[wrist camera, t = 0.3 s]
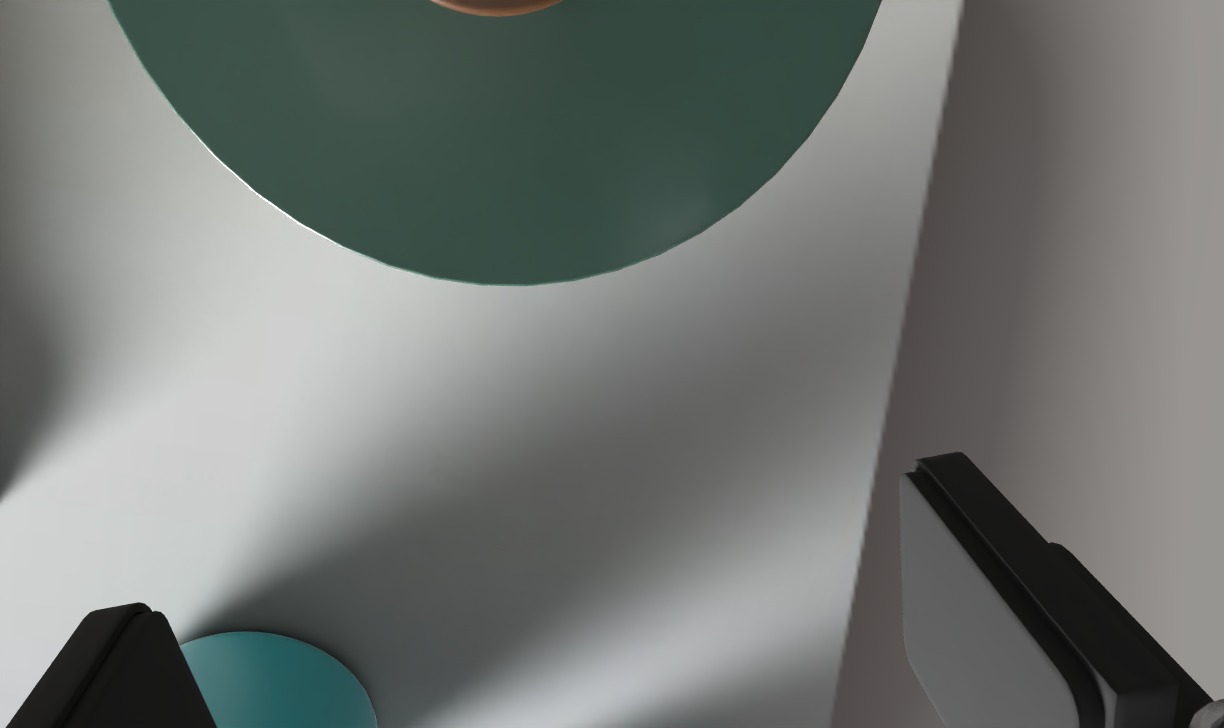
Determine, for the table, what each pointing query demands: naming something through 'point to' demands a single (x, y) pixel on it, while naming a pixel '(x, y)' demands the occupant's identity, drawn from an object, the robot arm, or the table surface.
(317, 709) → the cup
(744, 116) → the tin lid
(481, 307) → the table surface
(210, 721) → the robot arm
